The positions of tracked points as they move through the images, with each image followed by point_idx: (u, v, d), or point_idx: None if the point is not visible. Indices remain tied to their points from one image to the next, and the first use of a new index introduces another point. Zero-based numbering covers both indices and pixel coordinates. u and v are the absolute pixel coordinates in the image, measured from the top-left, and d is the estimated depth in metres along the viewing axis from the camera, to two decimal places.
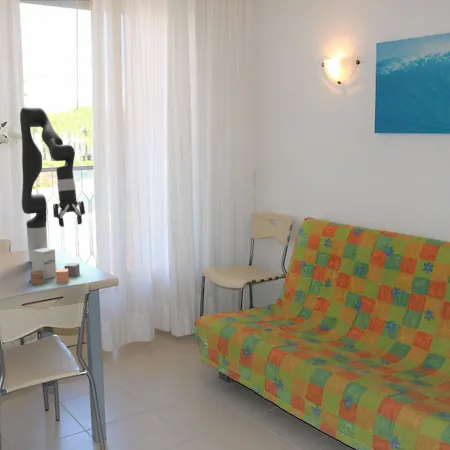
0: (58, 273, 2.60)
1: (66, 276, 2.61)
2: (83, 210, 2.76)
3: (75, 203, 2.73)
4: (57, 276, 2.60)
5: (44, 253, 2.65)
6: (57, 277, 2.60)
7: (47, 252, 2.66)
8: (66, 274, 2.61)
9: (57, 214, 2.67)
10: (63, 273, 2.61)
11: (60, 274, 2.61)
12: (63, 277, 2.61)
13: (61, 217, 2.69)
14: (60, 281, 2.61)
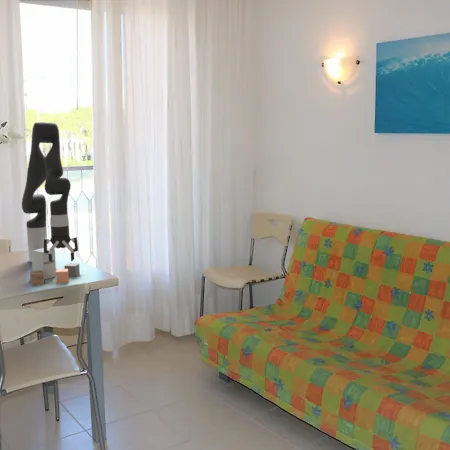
0: (58, 273, 2.60)
1: (66, 276, 2.61)
2: (76, 247, 2.61)
3: (67, 239, 2.60)
4: (57, 276, 2.60)
5: (44, 253, 2.65)
6: (57, 277, 2.60)
7: None
8: (66, 274, 2.61)
9: (45, 250, 2.59)
10: (63, 273, 2.61)
11: (60, 274, 2.61)
12: (63, 277, 2.61)
13: (49, 253, 2.59)
14: (60, 281, 2.61)
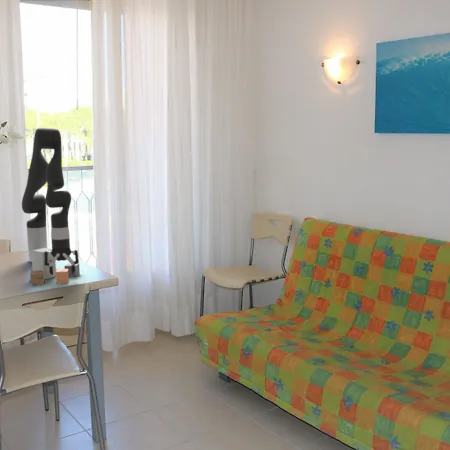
0: (58, 273, 2.60)
1: (66, 276, 2.61)
2: (76, 259, 2.62)
3: (68, 252, 2.61)
4: (57, 276, 2.60)
5: (44, 253, 2.65)
6: (57, 277, 2.60)
7: None
8: (66, 274, 2.61)
9: (46, 262, 2.59)
10: (63, 273, 2.61)
11: (60, 274, 2.61)
12: (63, 277, 2.61)
13: (50, 265, 2.60)
14: (60, 281, 2.61)
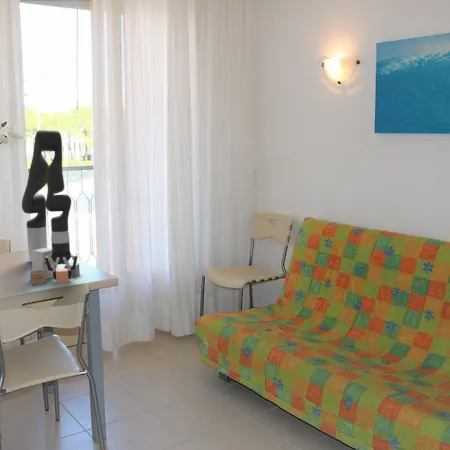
0: (58, 273, 2.60)
1: (66, 276, 2.61)
2: (74, 265, 2.63)
3: (68, 255, 2.61)
4: (57, 276, 2.60)
5: (44, 253, 2.65)
6: (57, 277, 2.60)
7: (47, 252, 2.66)
8: (66, 274, 2.61)
9: (49, 268, 2.60)
10: (63, 273, 2.61)
11: (60, 274, 2.61)
12: (63, 277, 2.61)
13: (54, 271, 2.61)
14: (60, 281, 2.61)
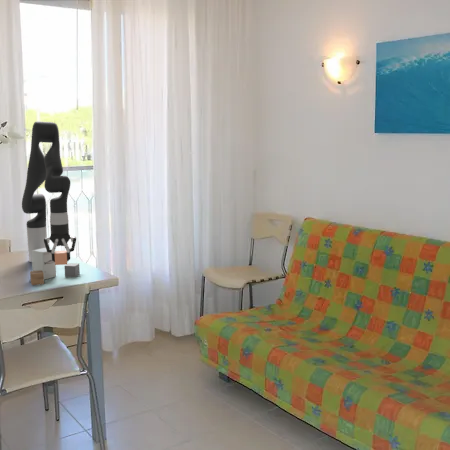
0: (57, 254, 2.59)
1: (65, 258, 2.60)
2: (73, 247, 2.61)
3: (67, 237, 2.60)
4: (56, 257, 2.59)
5: (44, 253, 2.65)
6: (56, 258, 2.59)
7: (47, 252, 2.66)
8: (65, 256, 2.60)
9: (48, 249, 2.59)
10: (62, 255, 2.59)
11: (59, 256, 2.59)
12: (62, 259, 2.60)
13: (53, 252, 2.60)
14: (59, 263, 2.60)
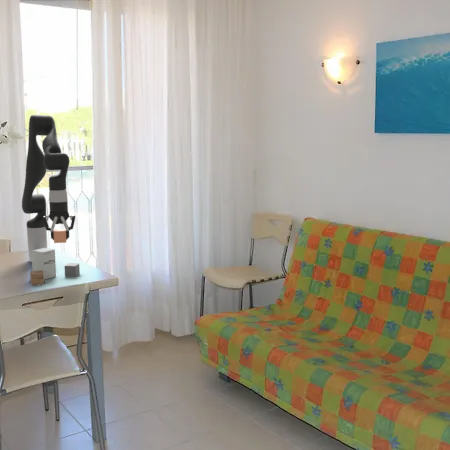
0: (56, 232, 2.58)
1: (64, 236, 2.59)
2: (72, 225, 2.60)
3: (66, 215, 2.59)
4: (55, 235, 2.58)
5: (44, 253, 2.65)
6: (55, 236, 2.58)
7: (47, 252, 2.66)
8: (64, 234, 2.59)
9: (47, 227, 2.58)
10: (61, 233, 2.58)
11: (58, 233, 2.58)
12: (61, 237, 2.59)
13: (52, 230, 2.59)
14: (58, 241, 2.59)
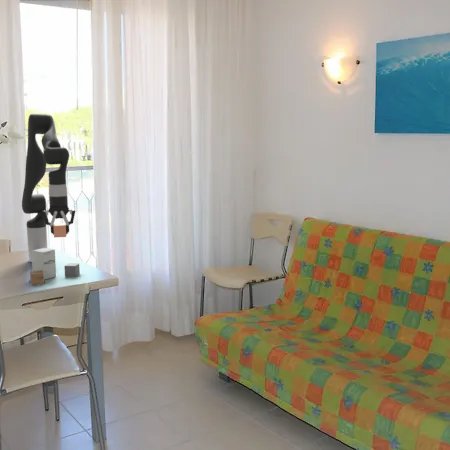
0: (56, 227, 2.58)
1: (64, 230, 2.59)
2: (71, 220, 2.60)
3: (65, 210, 2.59)
4: (55, 230, 2.58)
5: (44, 253, 2.65)
6: (55, 231, 2.58)
7: (47, 252, 2.66)
8: (64, 228, 2.59)
9: (47, 222, 2.58)
10: (61, 227, 2.58)
11: (58, 228, 2.58)
12: (61, 231, 2.59)
13: (51, 225, 2.59)
14: (58, 235, 2.59)
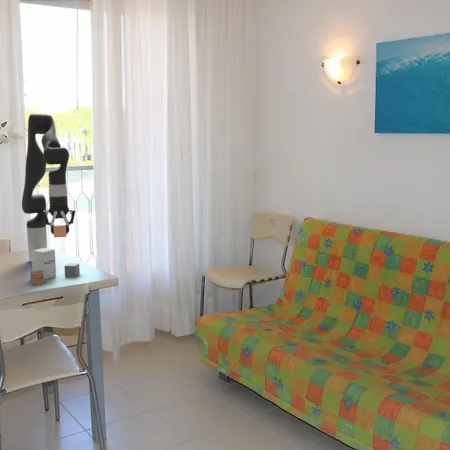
0: (56, 227, 2.58)
1: (64, 230, 2.59)
2: (71, 220, 2.60)
3: (65, 210, 2.59)
4: (55, 230, 2.58)
5: (44, 253, 2.65)
6: (55, 231, 2.58)
7: (47, 252, 2.66)
8: (64, 228, 2.59)
9: (47, 222, 2.58)
10: (61, 227, 2.58)
11: (58, 228, 2.58)
12: (61, 231, 2.59)
13: (51, 225, 2.59)
14: (58, 235, 2.59)
